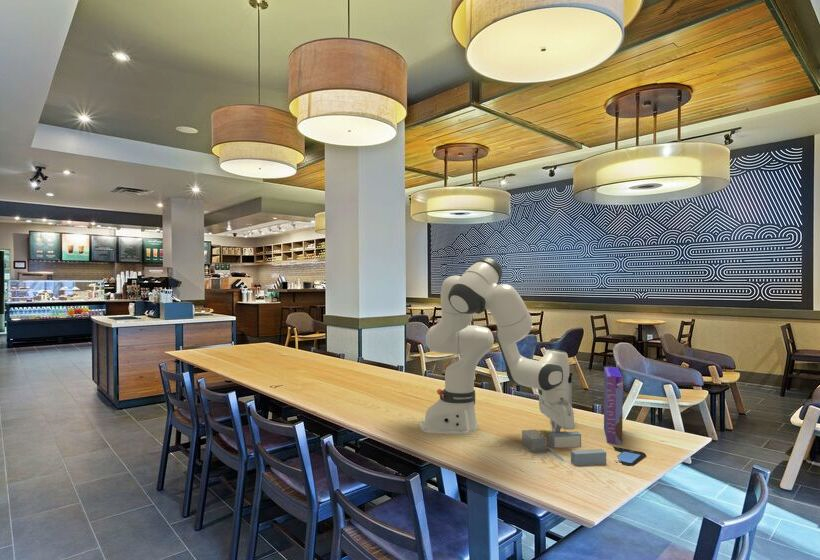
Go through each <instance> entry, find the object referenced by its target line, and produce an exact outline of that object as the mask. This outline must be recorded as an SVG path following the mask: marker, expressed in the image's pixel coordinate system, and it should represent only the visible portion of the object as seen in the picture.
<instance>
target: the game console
mask: <svg viewBox="0 0 820 560" xmlns="http://www.w3.org/2000/svg"><path fill="white" fill-rule="evenodd" d="M612 447H613V450H614V451H615V452H618V453H619V454H617V455H616V458H617V461H615V463H617V464H618V463H619V464H621V465H622V466H625V467H634V466H636V465H637V464H638V463H640V462H641V461H642V460H644V459H645V458H647V454H646V453H645V452H643V451H639V450H633V449H629V448H624V447H618V446H613V445H612Z"/></svg>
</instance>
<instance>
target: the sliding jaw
mask: <svg viewBox="0 0 820 560" xmlns="http://www.w3.org/2000/svg"><path fill="white" fill-rule="evenodd" d="M548 435H549V437H548V438H549V440H548V441H549V446H551V447H552V448H572V447H573V448H574V447H575V448H577V447H579V448H580V447H582V433H580V432H579V431H575V430H574V431H566V430H564V431H560V432H552V431H550V432H549V434H548Z"/></svg>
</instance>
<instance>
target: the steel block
mask: <svg viewBox="0 0 820 560" xmlns="http://www.w3.org/2000/svg"><path fill="white" fill-rule="evenodd" d="M547 439H548V438H547V437H546V436H545V435H543V434H542V433H540V432H539V431H538V430H537V429H526V430H525V429H524V430H521V446H523V447H525V449H527V450H528V451H529V452H531V453H532V454H536V453H537V454H538V453H547V450H548V449H547V448H548V447H547V445H548V444H547V441H548V440H547Z"/></svg>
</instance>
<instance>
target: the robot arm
mask: <svg viewBox="0 0 820 560" xmlns="http://www.w3.org/2000/svg"><path fill="white" fill-rule="evenodd" d="M502 276H503V270H502V267H501V265H500V264H499V263H498V262H497V261H496V260H495V259H493V258H491V257H481V258H479V259H477V260H475V261H474V262H473V263H472V264H471V266H470V267H468V268H467V269H466V270H465V271H464V272H463V273H462V275H451V276H448V277H446V278H445V279H444V280H443V281H442V285H441V287H440V288H441V289H440V308H441V318H440V320H439V321H438V322H437V323H436V324H434V325H432V326H431V327H430V328H429V329H428V330H427V332H426V335H425V342H426V345H427V346H426V347H427V348H428V349H429V351H431V352H434V353H439V354H448V355H449V354H450V355H451V354H452V355H453V354H454V355H461V357H460V359H459V360H457V361H455V362H453V363H451V364H449V365H448V366H446V369H445V371H444V389H443V390H442V389H441V388H438V389H436V393H437V395H439V399H438V400H437V401H436V402H434V403H433V404H431V406H428V408H427V410H426V411H425V417H424V419H421V420H420V421H419V423H418V426H419V429H420V430H421V431H422V432H423V433H426V434H437V435H438V434H440V435H442V434H443V435H444V434H445V435H469V434H470V433H472V432H475V431H477V430H478V429H479V423H478V421H477V417H476V409H475V408H476V407H475V405H476V390H475V374H476V373H475V372H476V369H477V366H478V364H479V362H480V361H481V360H482V358H483V357H484V356H485V355H486V354H489V352H490V351H491V350H492V348H493V347H494V343H495V342H494V341H495V339H494V338H495V337H494V335H493V332H492V330H491V329H490V328H488V327H486V326H483V325H478V324H477V325H473V324H472V325H470V324H471V323H472V321H473V317H474V315H473V314H483V312H485V309H486V310H487V311H488V312H489V313H490V314H491V316H492V318H493V320H494V322H495V324H496V325H495V326H496V330H495V336H496V341H497V344H498V348H499V350H500V353H501V355H502V359H503V361H504V365H505V369H506V370H505V371H506V372H505V373H506V376H507V378H508V380H509V382H510V383H511V384H513V385H516V386H524V387H527V388H531V389H536V390H537V393H538V405H539V407H538V408H539V411H540V413H541V414H542V415H544V416H545V417H547V418H548V419H549V422H550V426H551V432H561V429H563V430H564V431H566V430H573V429H574V428H575V415H574V409H573V406H572V407H571V406H570V404H569V402H568V401H569V383H568V378H569V373H570V360H569V355H568V353H567V352H566V351H564V350H559V349H554V348H547V349H545V350H544V354H543V356H542V357H541V358H540V359H538V360H537V359H531V358H527V357H525V356H523V355H522V354H520V352H519V348H518V345H517V343H518V342H520V341H521V340H523V339H524V338H526V337H527V336H528V334H529V333H531V330H532V327H533V319H532V317H531V313H530V311H529V310H528V308H527V305H526V304H525V301H524V300H523V298H522V296H520V295H521V294H519V293H518V291H517V290H516V289H515V288H514V287H513V285H511V284H507V283H502V284H499V283H500V282H501V280H502Z"/></svg>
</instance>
